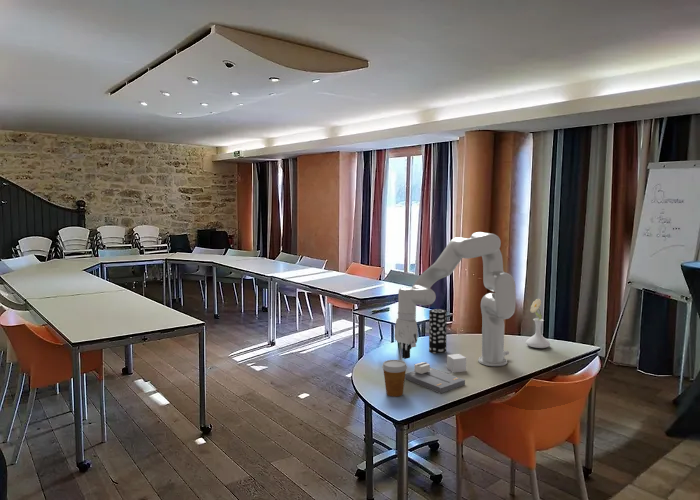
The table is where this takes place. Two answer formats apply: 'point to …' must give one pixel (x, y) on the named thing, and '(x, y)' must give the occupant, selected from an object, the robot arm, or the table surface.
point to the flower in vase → (537, 329)
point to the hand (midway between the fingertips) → (406, 357)
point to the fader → (422, 367)
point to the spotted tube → (437, 331)
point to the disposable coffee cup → (394, 377)
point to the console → (435, 380)
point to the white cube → (456, 363)
